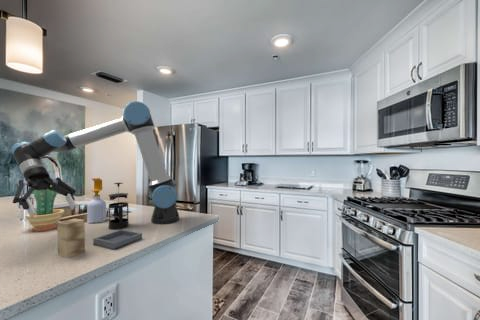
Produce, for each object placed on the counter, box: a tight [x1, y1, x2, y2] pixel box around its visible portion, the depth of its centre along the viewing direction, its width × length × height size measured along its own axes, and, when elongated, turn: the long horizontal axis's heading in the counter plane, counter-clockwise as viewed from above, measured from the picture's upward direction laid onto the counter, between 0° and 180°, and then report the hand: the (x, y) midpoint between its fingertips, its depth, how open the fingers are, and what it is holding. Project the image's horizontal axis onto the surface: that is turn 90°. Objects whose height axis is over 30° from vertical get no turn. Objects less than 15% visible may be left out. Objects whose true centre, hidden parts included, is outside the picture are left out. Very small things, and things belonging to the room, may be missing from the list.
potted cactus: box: [24, 185, 65, 232], centre depth 114 cm, size 15×15×25 cm
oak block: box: [56, 218, 86, 259], centre depth 83 cm, size 6×6×12 cm
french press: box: [107, 182, 130, 231], centre depth 116 cm, size 12×9×23 cm
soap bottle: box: [86, 177, 107, 224], centre depth 126 cm, size 9×9×25 cm
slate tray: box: [92, 229, 143, 251], centre depth 94 cm, size 13×13×2 cm
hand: (55, 210), depth 87 cm, fingers open, 13 cm apart
